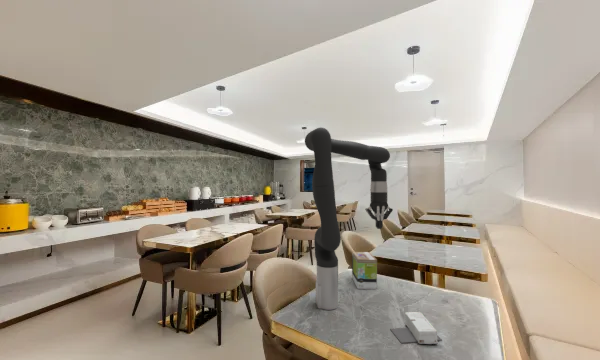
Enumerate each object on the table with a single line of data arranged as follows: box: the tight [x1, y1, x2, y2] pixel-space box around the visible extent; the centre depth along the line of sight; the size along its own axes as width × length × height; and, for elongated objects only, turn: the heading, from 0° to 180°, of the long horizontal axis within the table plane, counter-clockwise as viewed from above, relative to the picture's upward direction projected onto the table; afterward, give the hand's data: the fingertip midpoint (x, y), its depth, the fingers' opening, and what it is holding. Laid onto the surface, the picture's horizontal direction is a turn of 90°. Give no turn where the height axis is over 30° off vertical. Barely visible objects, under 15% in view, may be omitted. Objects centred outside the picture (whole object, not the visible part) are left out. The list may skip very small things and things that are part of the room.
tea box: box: [351, 251, 378, 290], centre depth 133 cm, size 15×10×15 cm
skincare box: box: [404, 311, 438, 345], centre depth 88 cm, size 6×4×12 cm
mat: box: [390, 327, 443, 345], centre depth 88 cm, size 14×8×1 cm, turn 96°
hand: (379, 228), depth 119 cm, fingers closed
